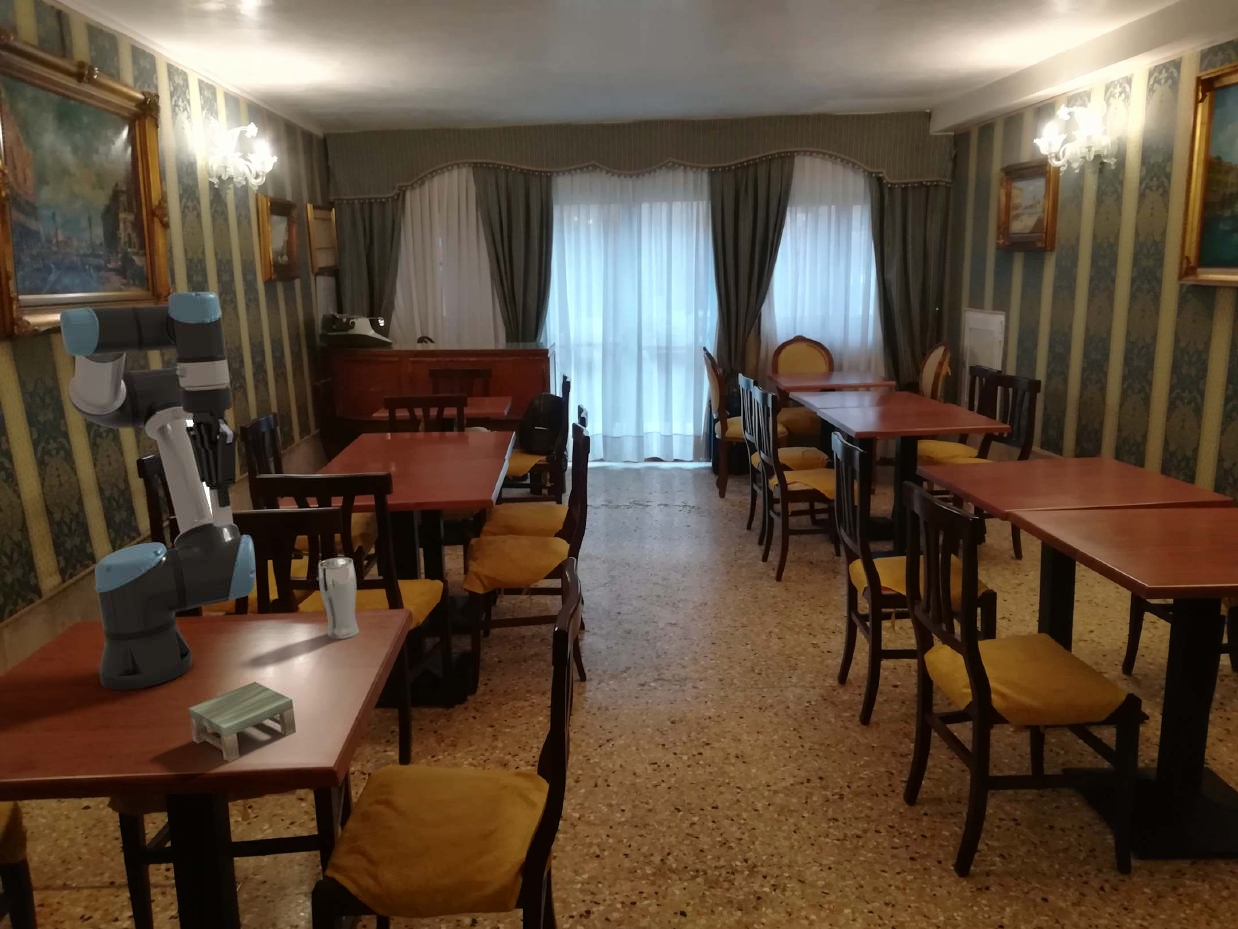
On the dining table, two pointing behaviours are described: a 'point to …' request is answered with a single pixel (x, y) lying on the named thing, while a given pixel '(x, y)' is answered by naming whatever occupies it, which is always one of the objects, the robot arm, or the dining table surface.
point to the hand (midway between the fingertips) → (223, 524)
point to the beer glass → (339, 596)
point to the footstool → (240, 716)
